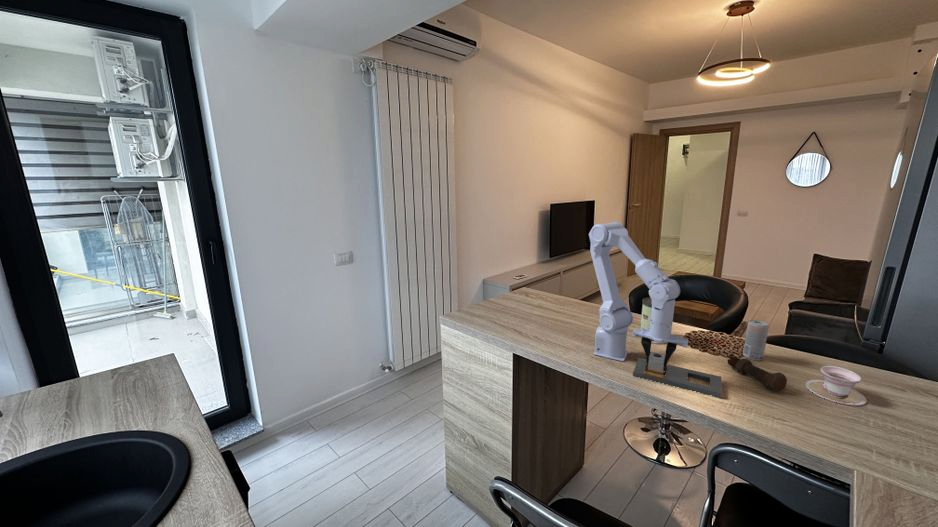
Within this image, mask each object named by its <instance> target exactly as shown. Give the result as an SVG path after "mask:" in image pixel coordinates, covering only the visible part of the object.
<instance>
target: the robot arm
mask: <svg viewBox="0 0 938 527" xmlns="http://www.w3.org/2000/svg"><path fill="white" fill-rule="evenodd" d="M588 237H589V242H590V250H589V251H590V255H591V260H592V264H593V267H594V271H595V276H596V278H597V282H598V283H597V284H598V287H599V291H600V294H601V299H602V304H601V305H600V307H599V309H598V311H599V325H598V327H597V328H596V332H595V337H594V339H595V340H594V353H593V355H595V356H598V357H602V358H606V359H610V360H614V361H620V362H625V360H626V358H627V356H628V353H629V351H628V350H627V349H626V346H627V339H628V338H627V337H628V336H627V335H628V330H629V326H631V325H632V324H633V321H634V315H633V314H632V311H631V310H630V308H629V306H628V303H627V302H625V301H624V300H623V299H622V298H621V295H620V291H619V286H618V284H617V280H616V275H615V272H614V268H613V264H612V261H611V260H612V259H611V257H610V252H611V250H612V248H613V247H615V248H618V249H619V250H620V251H621V252H622V253H623V254H624V255H625V256H626V257H627V258H628V259H629V260H630V262H631V263H632V264H633V265H634V266H635V269H634V272H635V274H637V276H638V277H639V279H641V281H642V282H643V283H644V284H645V285H646V287H647V288H648V289H649V290H648V295H649V297H651V299H652V310H651V319H650V329H649V330H640V329H638V328H634V329H633V330H632V333H631V334H632V335H631V337H632V338H642V339H641V340H640V344H641V347H642V348H643V350H644V354H645V359H646V362H647V363H648V362H649V355H650V352H651V351H652V343H651V342H652V340H654V341H655V342H660V343H662V342H665V344H666V348H665V354H666V355H665V361H664V367H666V366H667V364H668V361H669V360H670V359H671V356H672V355H673V354H674V353H675V351H676V350H677V346H680V347H683V348H687V349H688V344H689V338H684V337H680V336H677V335H674V334H672V329H673V328H672V327H673V320H674V314H675V313H674V312H675V304H676V298H678V297H679V296H680V294H681V287H680V285H679V284H678V281H677V280H675V279H674V278H673V279H672V278H669V277H668V275H666V274H665V273H664V272H663V271H662V270H661V269H660V268H659V267H658V263H657V262H656V261H653V260H652V259H648V258H646V257H645V256H644V255H643V253H642V252H641V250H640V249H639V248H638V247H637V245H636V244H635V243H634V241H633V240H632V238H631V237H630V236H629V232H628V229H627V228H625V227H624V225H623V224H622V223H621V222H620V221H614V222H608V223H607V222H606V223H596V224H595V225H593V226H592V228H591V229H590V231H589V233H588Z"/></svg>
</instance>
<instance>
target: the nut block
mask: <svg viewBox="0 0 938 527" xmlns="http://www.w3.org/2000/svg"><path fill="white" fill-rule="evenodd" d="M665 355H666V353H661V352H657V351H652V350H650V355H649V362H648V368H647V371H648V372H652V373H656V374H660V375H664V361H665Z"/></svg>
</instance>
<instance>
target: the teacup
mask: <svg viewBox="0 0 938 527" xmlns="http://www.w3.org/2000/svg"><path fill="white" fill-rule="evenodd" d="M820 372H821V374H822V378H823V379H824V380H823V379H811V380H807V382H805V387H806V388H807V390H808V389H809V390H808V391H810V393H812V392H813V393H812V394H814V395H816V396H818V397H820V398H822V399H824V398H825V399H824V400H827V401H830V402H833V403H836V402H837V403H838V404H841V405H846V406H850V407H851V406H854V407H855V406H856V407H857V406H858V407H860V406H865V405H866V403H867V402H868V400H867V398H866V397H865V396H864V394H862V393H861V392H859V391H857V390H856V389H853V387H855V386H856V385H857V384H859V383H860V382H861V381H862V378H861V376H860V375H859V374H858V373H856V372H854V371H851V370H849V369H847V368H844V367H839V366H834V365H823V366H822V367H821V366H820ZM812 382H824V384H823V386H824V389H825V390H826V392H828V393H829V394H830V393H831V394H830V395H832V394H833V395H832V396H835V395H837V396H836V397H839V396H843V397H845V396H847V395H849V394H851V390H852V391H853V390H854V391H855V392H856V393H857V394H859V395H860V396H861V399H862V401H861V402H860V403H855V404H853V403H843V402H838V401H835V400H831V399H829V398H826V397H823V396H822V395H819V394H817V393H816V392H814V391H813V390H812V389H811V388H810V387H809V384H810V383H812ZM837 403H836V404H837Z"/></svg>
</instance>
